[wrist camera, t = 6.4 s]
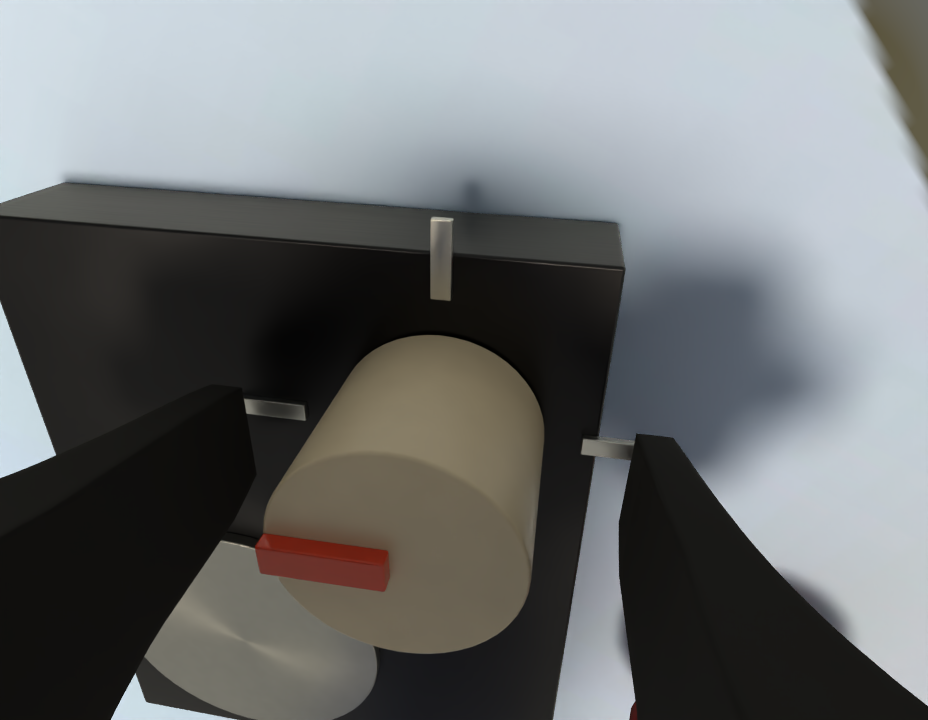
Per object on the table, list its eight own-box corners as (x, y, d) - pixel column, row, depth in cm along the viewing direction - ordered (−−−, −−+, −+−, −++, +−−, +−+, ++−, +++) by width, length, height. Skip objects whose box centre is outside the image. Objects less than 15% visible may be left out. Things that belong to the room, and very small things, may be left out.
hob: (583, 700, 19) (583, 792, 17) (190, 632, 21) (141, 707, 19) (682, 195, 12) (707, 240, 9) (55, 153, 14) (-54, 182, 11)
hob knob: (553, 344, 11) (540, 488, 8) (536, 517, 13) (520, 690, 10) (332, 324, 11) (231, 450, 8) (348, 493, 13) (272, 649, 10)
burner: (385, 733, 18) (382, 744, 17) (155, 690, 19) (148, 700, 18) (374, 553, 14) (370, 563, 14) (93, 511, 15) (84, 520, 15)
